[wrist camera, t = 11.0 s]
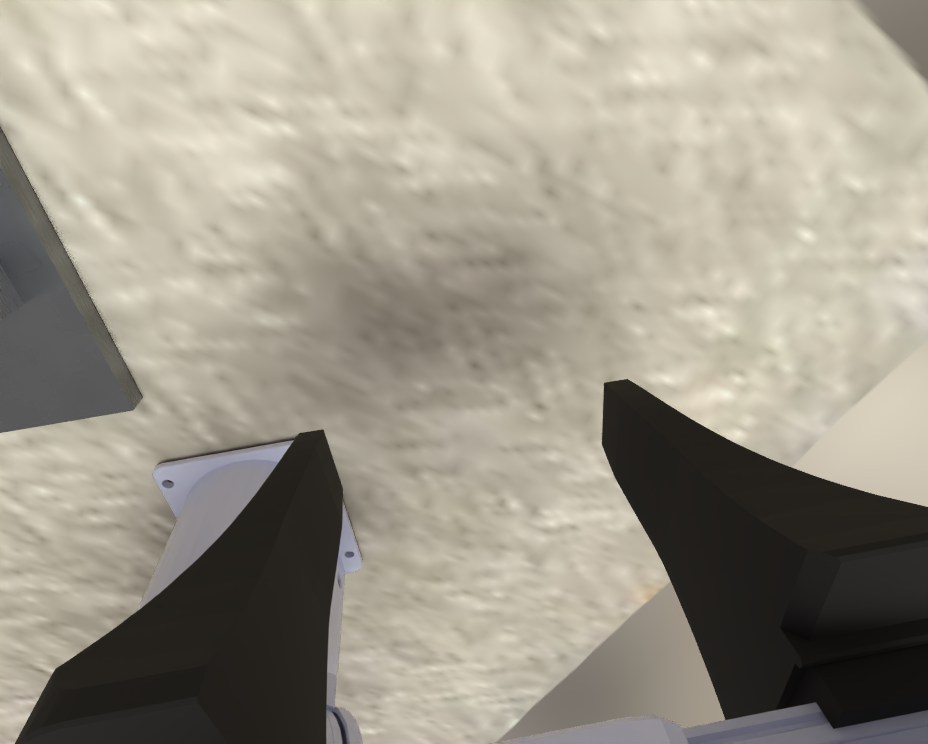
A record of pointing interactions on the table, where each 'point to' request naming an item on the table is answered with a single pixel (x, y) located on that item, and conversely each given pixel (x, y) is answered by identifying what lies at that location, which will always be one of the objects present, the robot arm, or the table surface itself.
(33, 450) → the table surface
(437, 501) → the table surface
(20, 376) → the fitting plate
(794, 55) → the table surface
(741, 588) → the robot arm
